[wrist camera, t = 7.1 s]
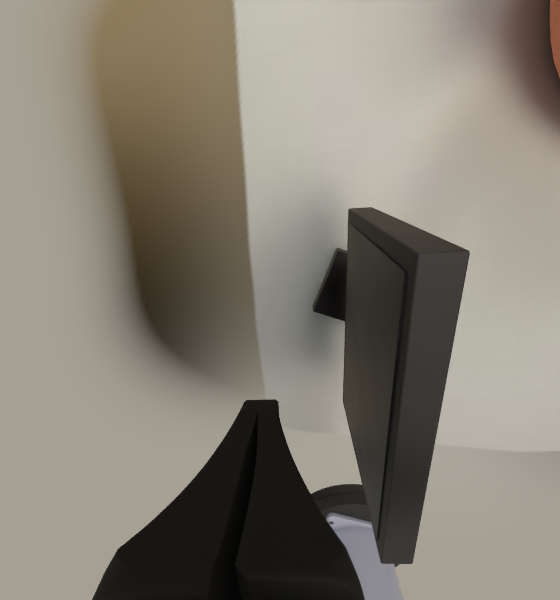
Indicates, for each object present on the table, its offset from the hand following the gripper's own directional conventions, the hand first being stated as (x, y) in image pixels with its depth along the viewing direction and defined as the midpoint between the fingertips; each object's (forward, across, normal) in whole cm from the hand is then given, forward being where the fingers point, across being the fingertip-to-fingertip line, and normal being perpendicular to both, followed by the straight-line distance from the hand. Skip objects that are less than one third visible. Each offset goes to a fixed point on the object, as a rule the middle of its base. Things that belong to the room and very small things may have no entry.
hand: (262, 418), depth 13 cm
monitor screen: (+6, -5, -2) cm, 8 cm away
